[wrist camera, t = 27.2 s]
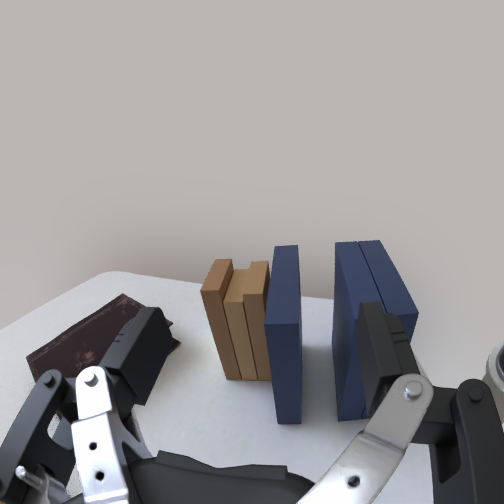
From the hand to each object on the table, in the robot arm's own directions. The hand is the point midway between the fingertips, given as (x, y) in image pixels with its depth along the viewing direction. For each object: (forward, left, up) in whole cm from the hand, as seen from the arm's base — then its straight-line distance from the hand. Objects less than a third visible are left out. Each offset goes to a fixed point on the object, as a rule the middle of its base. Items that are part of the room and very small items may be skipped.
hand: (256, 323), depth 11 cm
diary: (+32, -16, -25) cm, 43 cm away
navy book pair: (-9, -16, -25) cm, 31 cm away
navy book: (0, -16, -25) cm, 29 cm away
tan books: (+6, -19, -25) cm, 32 cm away
